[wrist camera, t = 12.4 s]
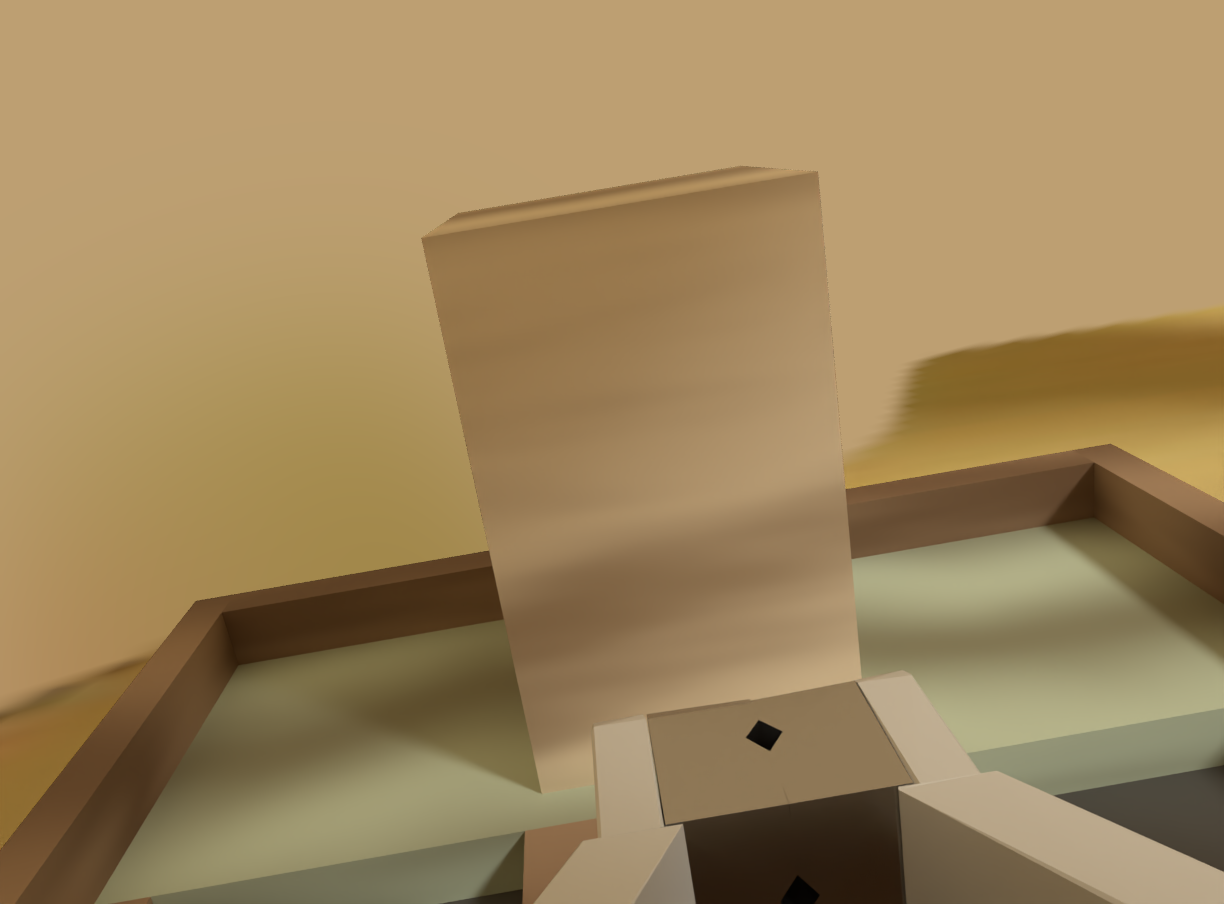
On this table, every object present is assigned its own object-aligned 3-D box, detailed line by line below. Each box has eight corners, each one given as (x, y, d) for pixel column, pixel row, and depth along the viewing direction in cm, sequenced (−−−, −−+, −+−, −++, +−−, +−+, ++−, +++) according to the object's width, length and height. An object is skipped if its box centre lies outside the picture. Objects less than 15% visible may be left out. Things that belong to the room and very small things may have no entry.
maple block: (866, 736, 17) (817, 171, 14) (541, 794, 17) (421, 237, 14) (787, 591, 23) (740, 166, 20) (543, 633, 23) (457, 212, 20)
